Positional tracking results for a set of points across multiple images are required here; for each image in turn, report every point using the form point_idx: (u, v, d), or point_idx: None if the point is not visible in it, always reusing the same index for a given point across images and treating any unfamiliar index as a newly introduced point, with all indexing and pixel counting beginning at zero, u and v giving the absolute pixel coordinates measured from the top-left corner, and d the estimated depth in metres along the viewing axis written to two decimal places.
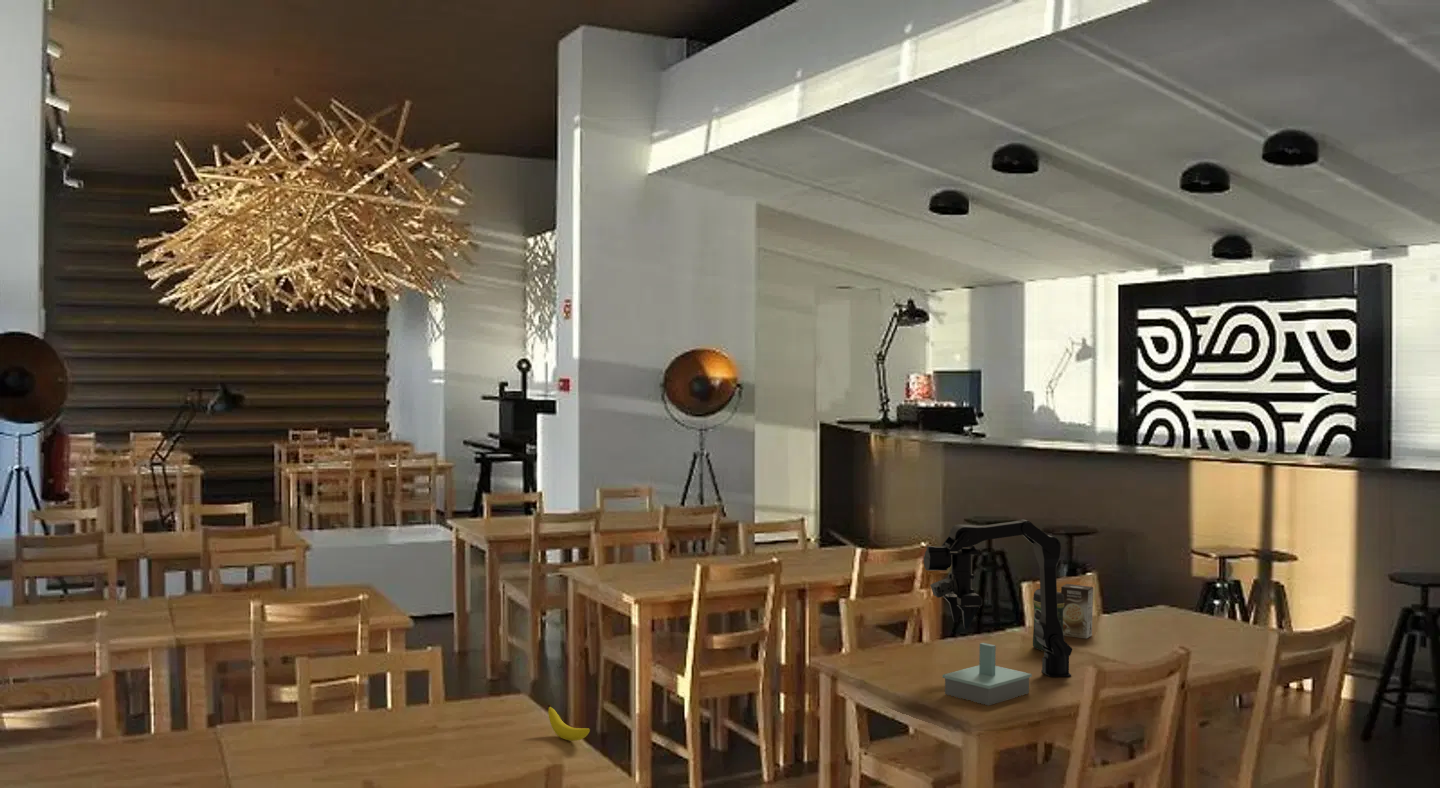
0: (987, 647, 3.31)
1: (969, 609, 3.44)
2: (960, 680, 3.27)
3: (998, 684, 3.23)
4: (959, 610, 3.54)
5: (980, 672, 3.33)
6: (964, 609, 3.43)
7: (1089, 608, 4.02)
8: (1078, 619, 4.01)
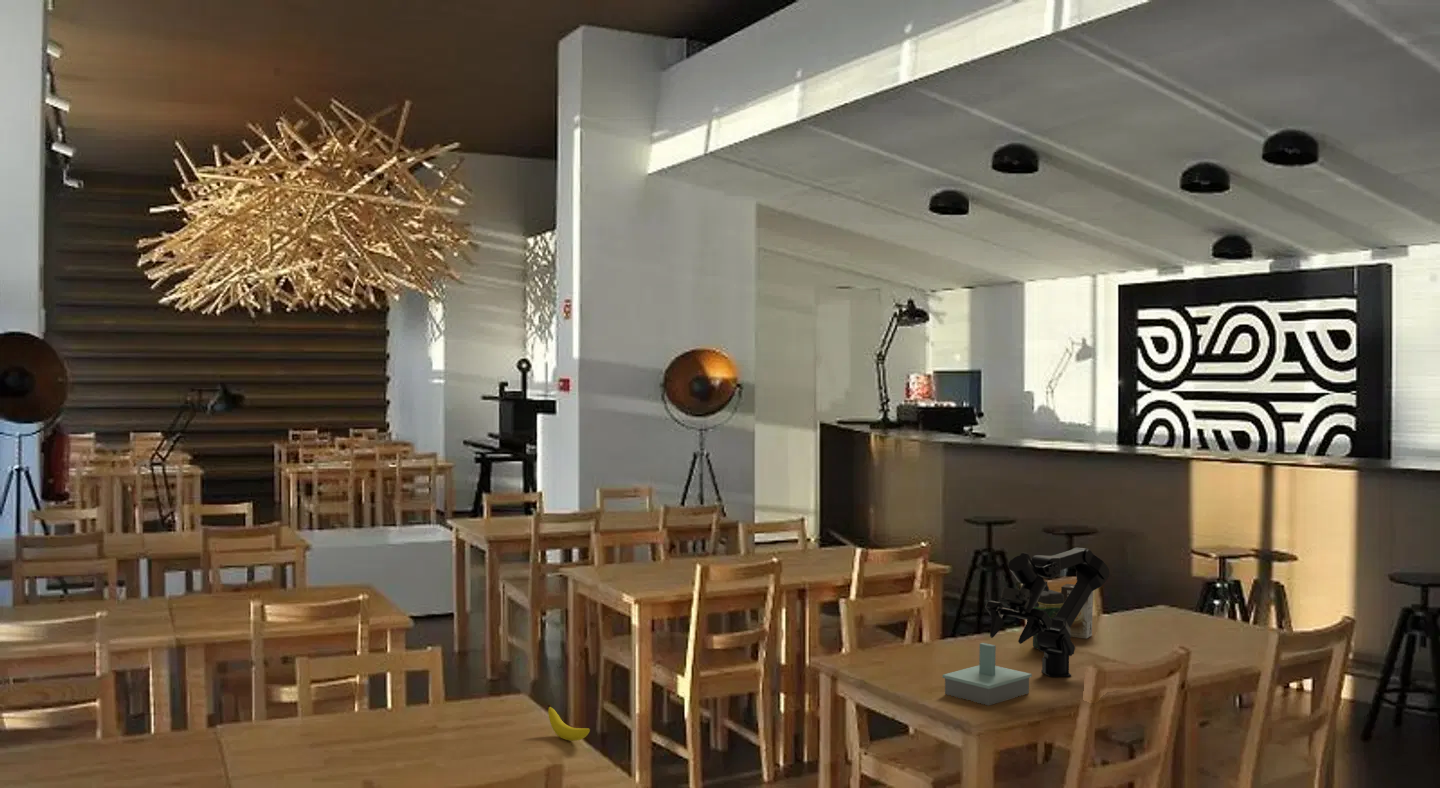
0: (987, 647, 3.31)
1: (1032, 627, 3.36)
2: (960, 680, 3.27)
3: (998, 684, 3.23)
4: (997, 629, 3.43)
5: (980, 672, 3.33)
6: (1032, 623, 3.35)
7: (1089, 608, 4.02)
8: (1078, 619, 4.01)
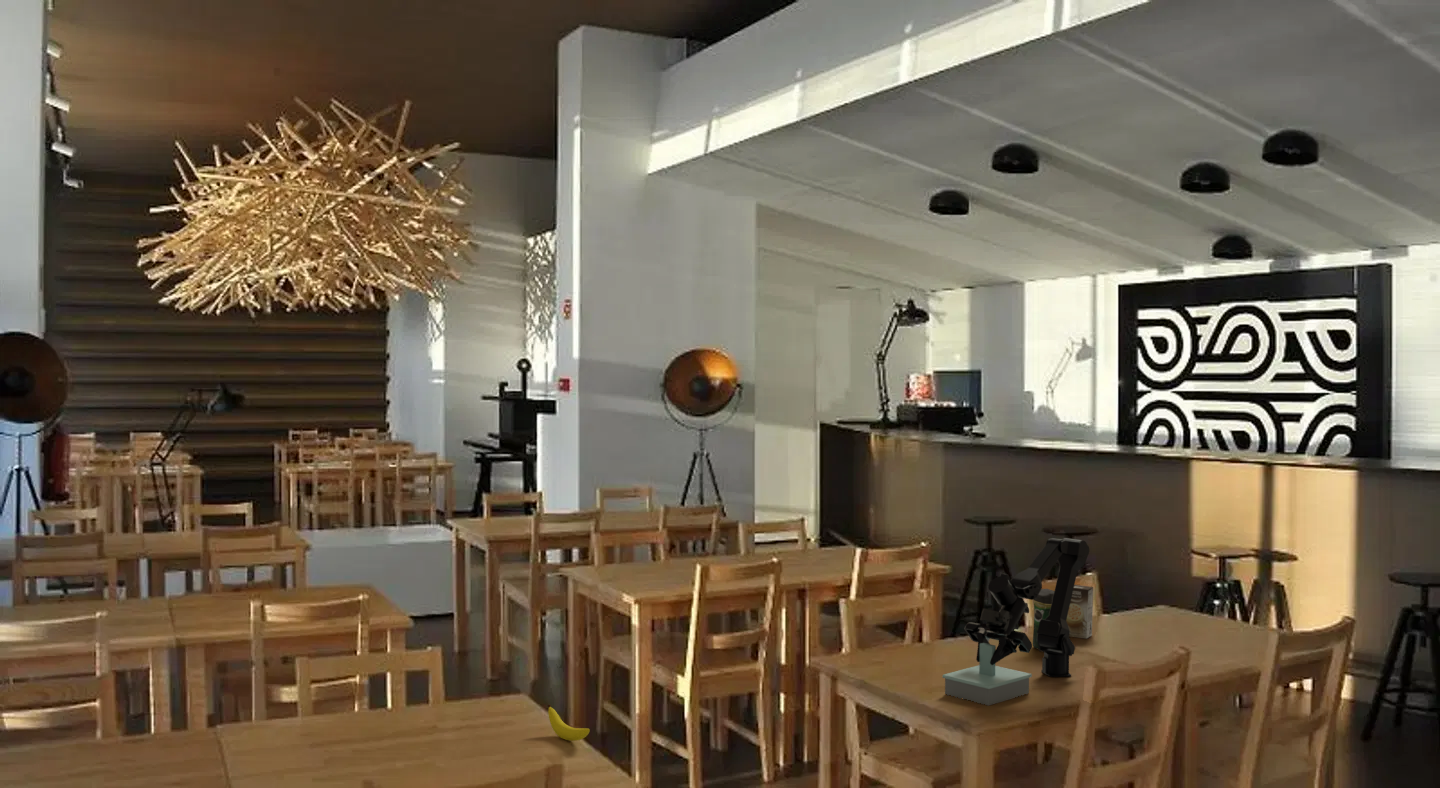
0: (987, 647, 3.31)
1: (1004, 648, 3.32)
2: (960, 680, 3.27)
3: (998, 684, 3.23)
4: None
5: (980, 672, 3.33)
6: (1004, 644, 3.30)
7: (1089, 608, 4.02)
8: (1078, 619, 4.01)
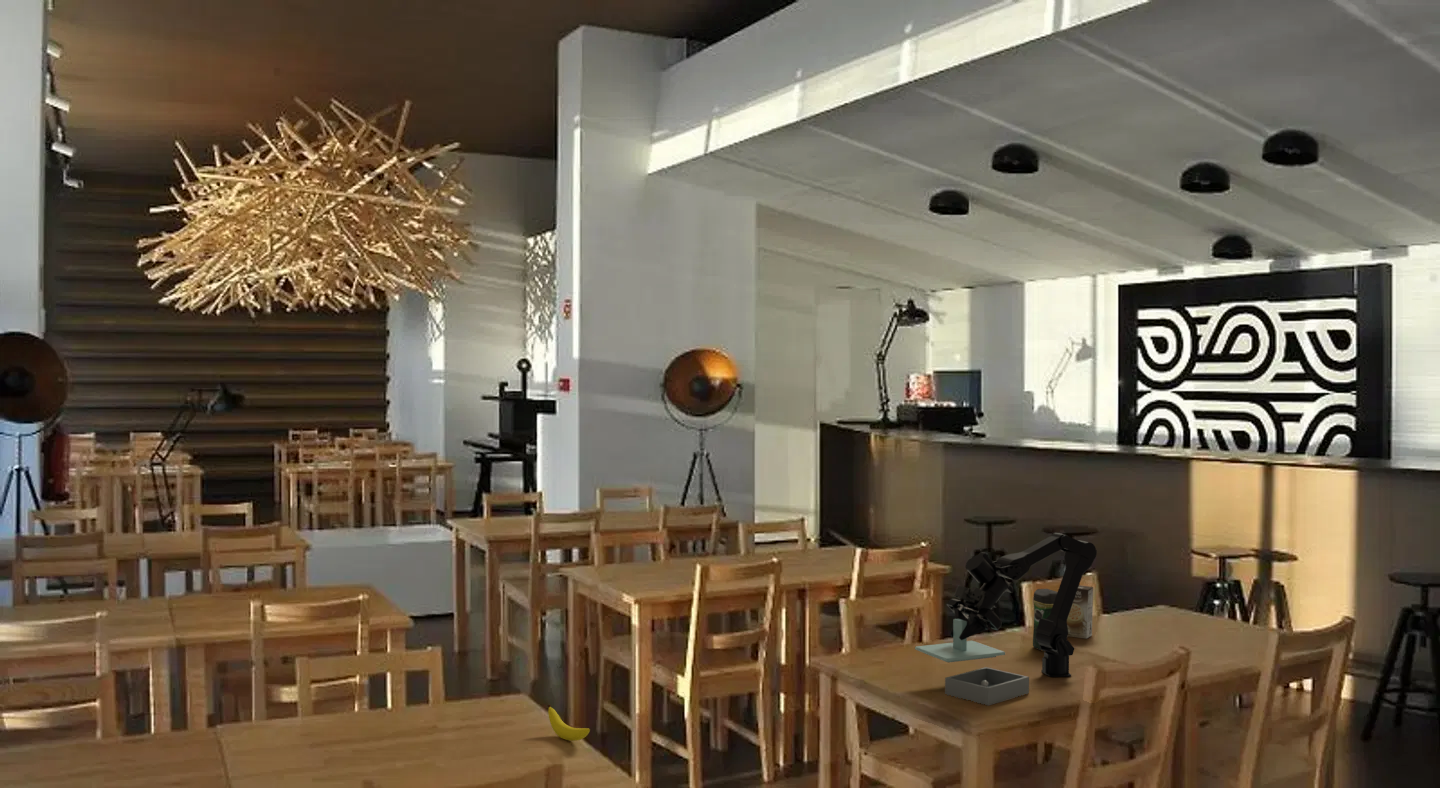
0: (958, 622, 3.39)
1: (976, 625, 3.38)
2: (927, 652, 3.38)
3: (959, 658, 3.31)
4: None
5: (953, 647, 3.41)
6: (974, 621, 3.37)
7: (1089, 608, 4.02)
8: (1078, 619, 4.01)
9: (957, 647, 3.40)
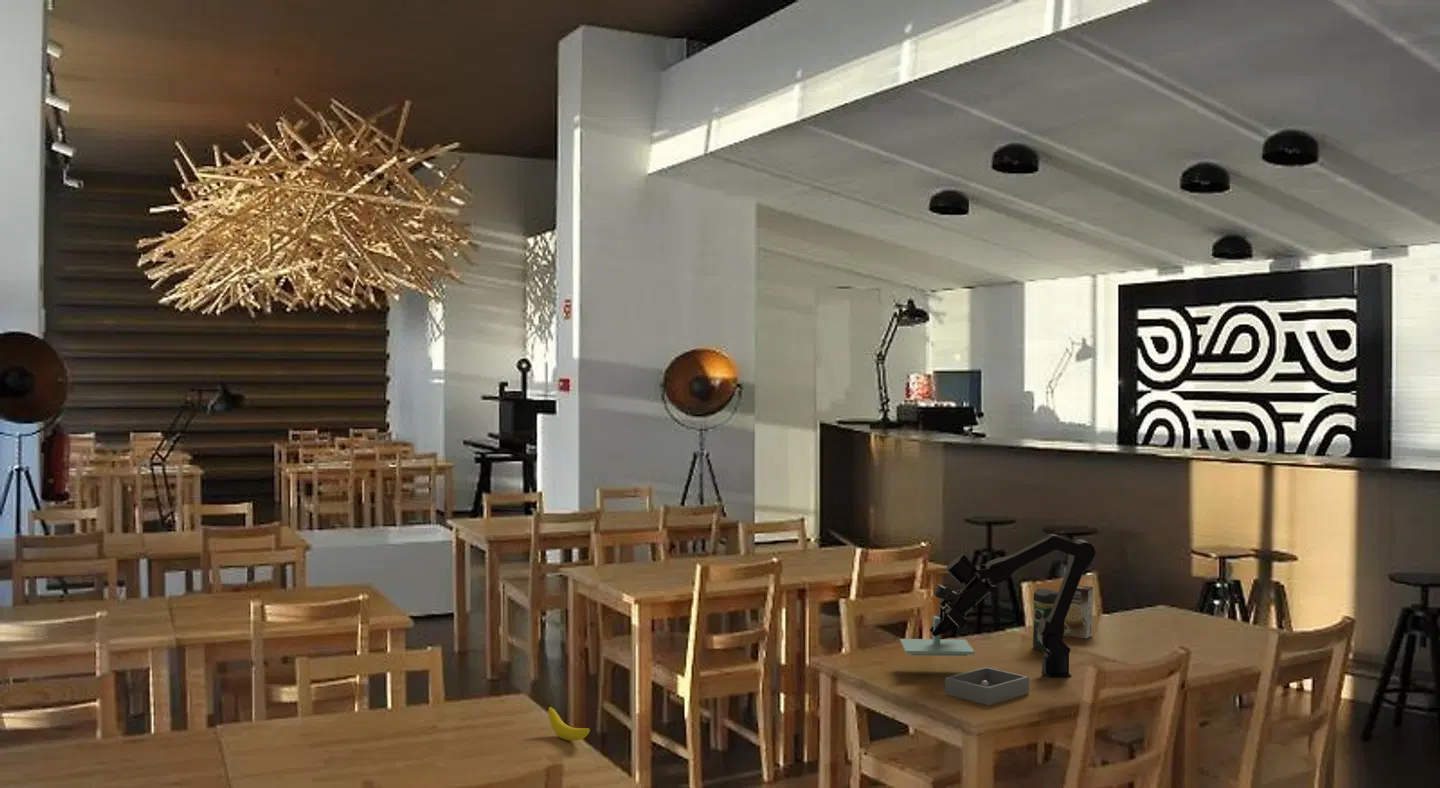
0: (934, 619, 3.54)
1: (948, 623, 3.51)
2: (902, 644, 3.57)
3: (920, 652, 3.48)
4: None
5: (932, 642, 3.57)
6: (945, 619, 3.51)
7: (1089, 608, 4.02)
8: (1078, 619, 4.01)
9: (933, 643, 3.55)
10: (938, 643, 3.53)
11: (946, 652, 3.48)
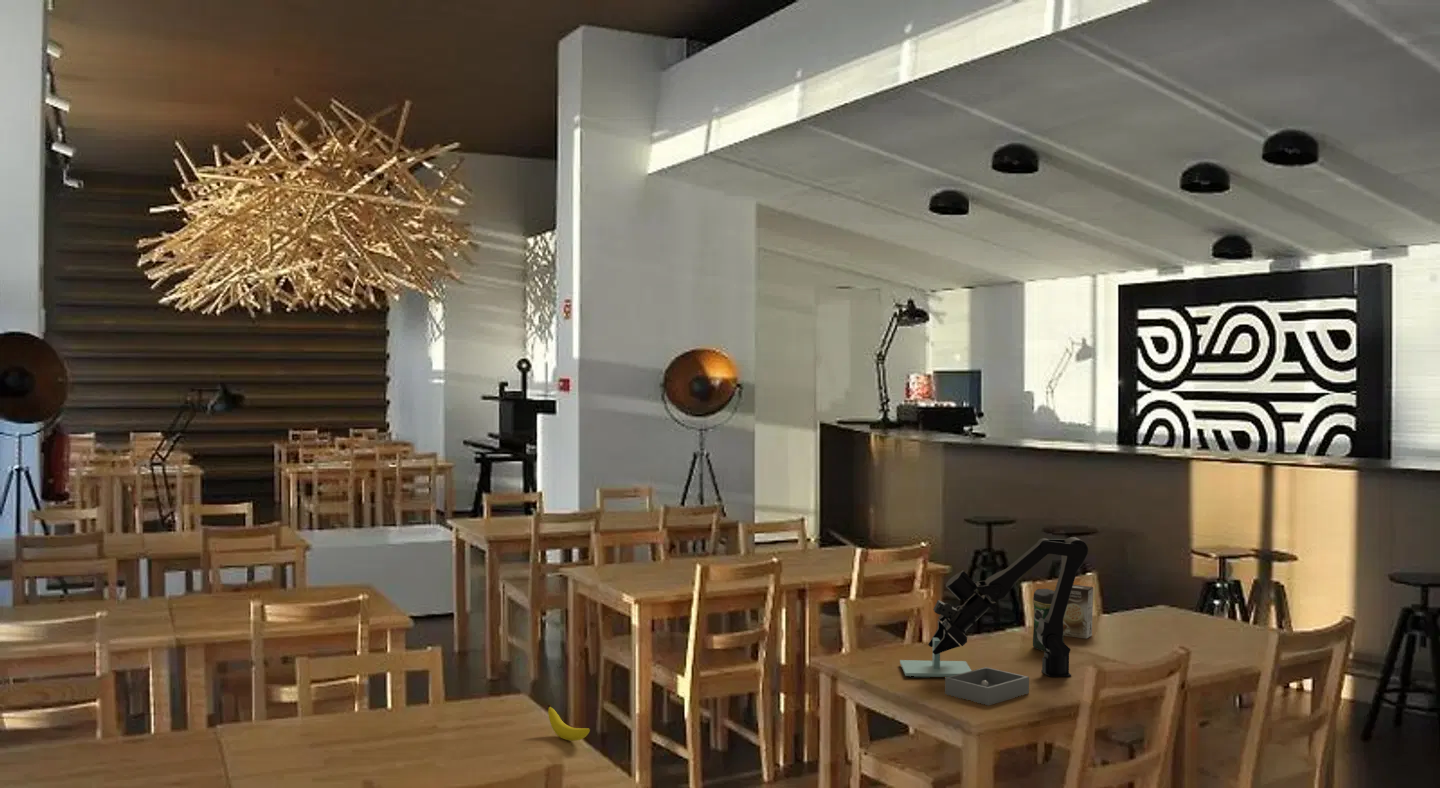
0: (933, 641, 3.55)
1: (949, 641, 3.49)
2: (902, 666, 3.57)
3: (920, 674, 3.48)
4: (940, 640, 3.60)
5: (932, 664, 3.57)
6: (946, 637, 3.48)
7: (1089, 608, 4.02)
8: (1078, 619, 4.01)
9: (933, 664, 3.55)
10: (938, 665, 3.53)
11: (946, 674, 3.48)
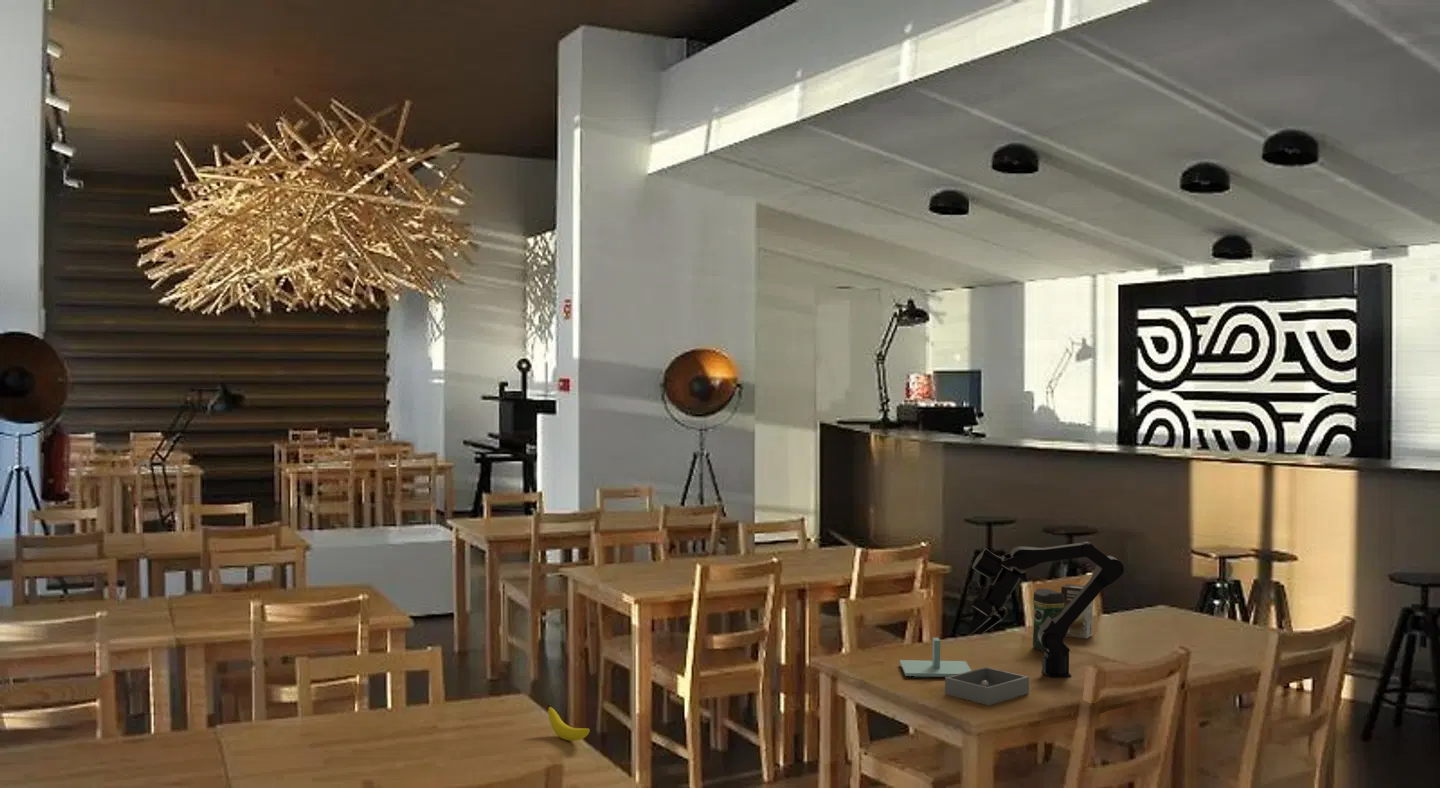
0: (933, 641, 3.55)
1: (980, 616, 3.50)
2: (902, 666, 3.57)
3: (920, 674, 3.48)
4: (988, 626, 3.59)
5: (932, 664, 3.57)
6: (975, 612, 3.50)
7: (1089, 608, 4.02)
8: (1078, 619, 4.01)
9: (933, 664, 3.55)
10: (938, 665, 3.53)
11: (946, 674, 3.48)
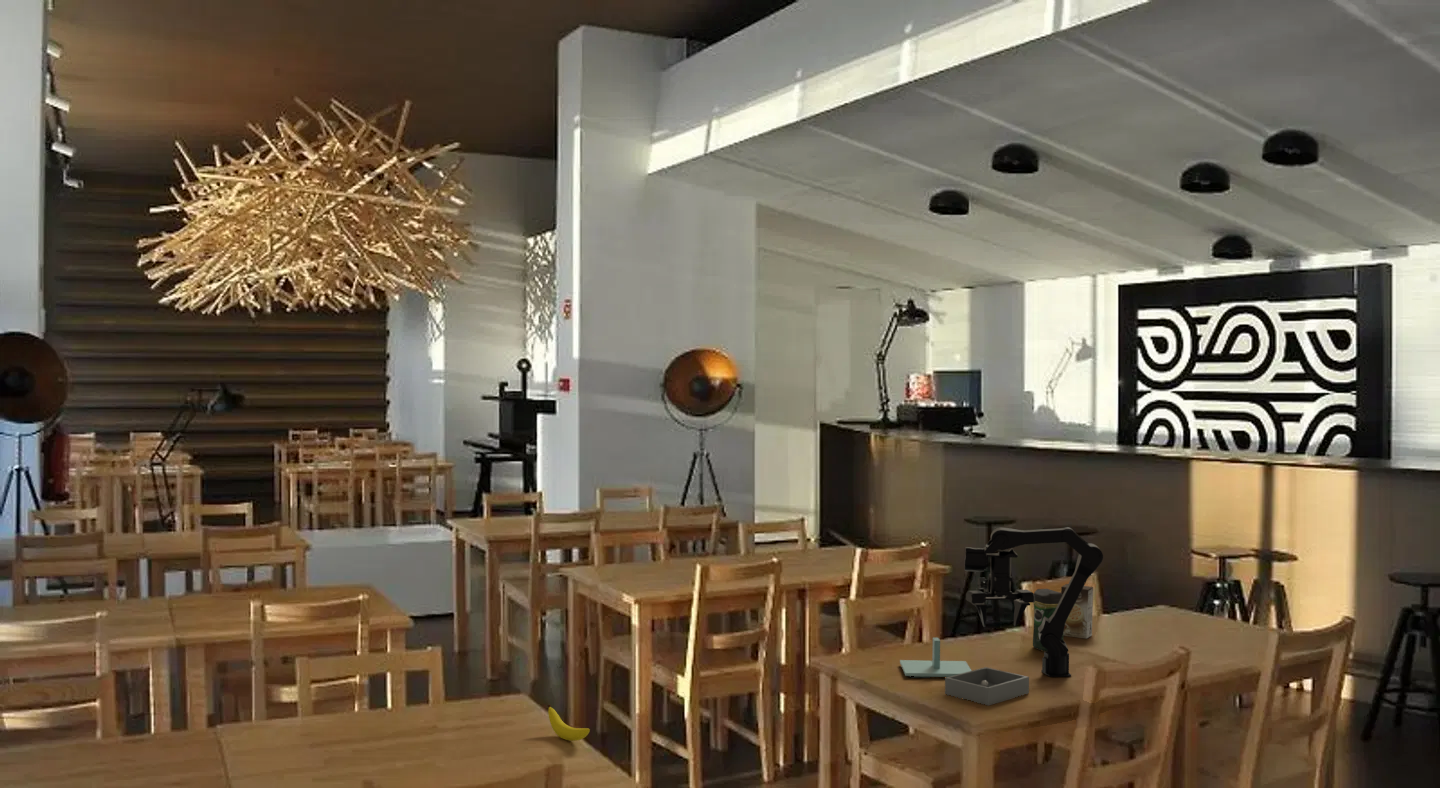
0: (933, 641, 3.55)
1: None
2: (902, 666, 3.57)
3: (920, 674, 3.48)
4: (1017, 615, 3.56)
5: (932, 664, 3.57)
6: (976, 605, 3.57)
7: (1089, 608, 4.02)
8: (1078, 619, 4.01)
9: (933, 664, 3.55)
10: (938, 665, 3.53)
11: (946, 674, 3.48)
